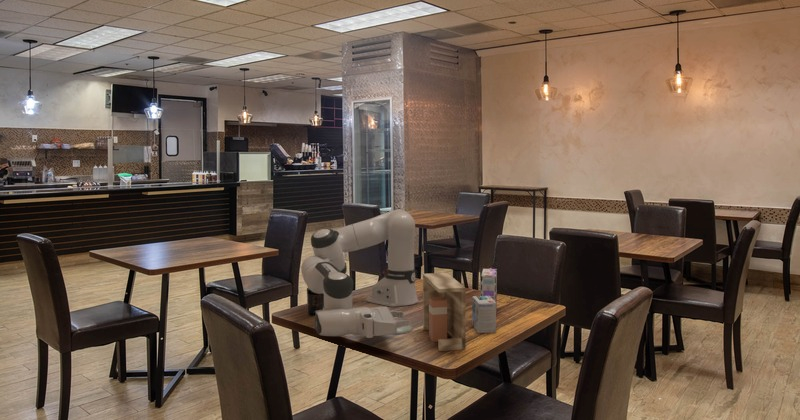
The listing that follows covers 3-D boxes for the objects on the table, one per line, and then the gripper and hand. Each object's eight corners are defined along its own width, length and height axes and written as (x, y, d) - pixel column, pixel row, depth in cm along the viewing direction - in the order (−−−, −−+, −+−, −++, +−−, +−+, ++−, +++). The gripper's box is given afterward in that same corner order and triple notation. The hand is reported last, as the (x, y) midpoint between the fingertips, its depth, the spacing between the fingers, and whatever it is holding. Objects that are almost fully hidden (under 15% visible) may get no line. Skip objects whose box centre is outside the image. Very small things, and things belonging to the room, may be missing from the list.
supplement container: (319, 310, 230) (319, 285, 229) (327, 314, 225) (326, 288, 224) (304, 313, 226) (303, 287, 225) (311, 317, 221) (311, 291, 220)
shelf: (439, 351, 181) (438, 289, 179) (423, 329, 204) (422, 273, 202) (465, 349, 183) (465, 287, 181) (446, 327, 206) (446, 272, 204)
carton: (432, 341, 190) (432, 301, 189) (429, 337, 195) (428, 297, 194) (447, 340, 191) (446, 300, 190) (443, 336, 196) (443, 296, 195)
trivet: (378, 331, 202) (378, 329, 202) (392, 324, 211) (392, 322, 211) (403, 335, 197) (403, 333, 197) (416, 327, 206) (416, 325, 206)
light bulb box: (471, 324, 210) (471, 295, 208) (489, 323, 210) (489, 295, 209) (477, 333, 199) (478, 303, 198) (496, 332, 199) (497, 302, 198)
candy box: (495, 318, 217) (496, 275, 215) (480, 317, 218) (480, 275, 217) (497, 308, 231) (497, 268, 229) (482, 307, 232) (482, 267, 230)
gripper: (361, 321, 199) (400, 318, 201) (368, 339, 179) (411, 336, 181) (361, 303, 198) (400, 301, 200) (368, 320, 178) (411, 317, 180)
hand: (405, 318), depth 190 cm, fingers open, 8 cm apart
